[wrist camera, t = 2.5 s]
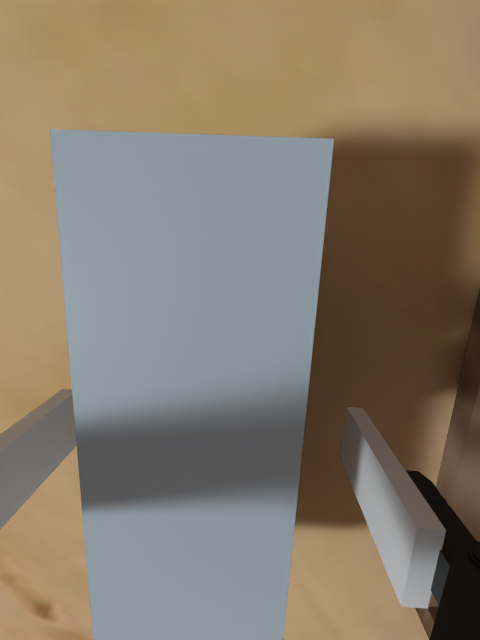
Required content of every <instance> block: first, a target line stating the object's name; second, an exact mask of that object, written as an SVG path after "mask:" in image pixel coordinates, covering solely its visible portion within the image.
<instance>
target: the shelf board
mask: <svg viewBox="0 0 480 640" xmlns="http://www.w3.org/2000/svg"><path fill="white" fill-rule="evenodd" d="M50 135H51V146H52V158H53V170H54V182H55V194H56V206H57V217H58V229H59V241H60V253H61V265H62V277H63V288H64V300H65V312H66V324H67V336H68V348H69V359H70V371H71V383H72V395H73V407H74V418H75V430H76V442H77V454H78V466H79V478H80V489H81V501H82V513H83V525H84V537H85V549H86V560H87V572H88V584H89V596H90V608H91V619H92V631H93V640H283V634H284V625H285V615H286V605H287V595H288V585H289V576H290V566H291V556H292V546H293V536H294V527H295V517H296V507H297V497H298V487H299V478H300V468H301V458H302V448H303V438H304V429H305V419H306V409H307V399H308V389H309V380H310V370H311V360H312V350H313V340H314V331H315V321H316V311H317V301H318V291H319V282H320V272H321V262H322V252H323V242H324V233H325V223H326V213H327V203H328V193H329V184H330V174H331V164H332V154H333V144H334V139H327V138H297V137H266V136H236V135H205V134H174V133H144V132H113V131H83V130H52V129H50Z"/></svg>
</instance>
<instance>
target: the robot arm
mask: <svg viewBox="0 0 480 640" xmlns="http://www.w3.org/2000/svg"><path fill="white" fill-rule="evenodd" d="M76 445H77V442H76V430H75V418H74V407H73V395H72V390H70V389H62V390H61V391H59V392H58V393H57V394H55V395H54V396H52V397H51V398H50V399H48V400H47V401H46V402H44V403H43V404H41V405H40V406H39V407H37V408H36V409H35V410H33V411H32V412H31V413H29V414H28V415H26V416H25V417H24V418H22V419H21V420H20V421H18V422H17V423H15V424H14V425H13V426H11V427H10V428H9V429H7V430H6V431H4V432H3V433H2V434H0V529H1V528H2V527H3V526H4V525H5V524H6V522H7V521H8V520H9V519H10V518H11V517H12V516H13V515H14V514H15V513H16V511H17V510H18V509H19V508H20V507H21V506H22V505H23V504H24V503H25V502H26V500H27V499H28V498H29V497H30V496H31V495H32V494H33V493H34V492H35V491H36V489H37V488H38V487H39V486H40V485H41V484H42V483H43V482H44V481H45V480H46V478H47V477H48V476H49V475H50V474H51V473H52V472H53V471H54V470H55V469H56V467H57V466H58V465H59V464H60V463H61V462H62V461H63V460H64V459H65V458H66V456H67V455H68V454H69V453H70V452H71V451H72V450H73V449H74V448H75V447H76ZM340 458H341V461H342V463H343V466H344V468H345V471H346V473H347V476H348V478H349V481H350V483H351V485H352V488H353V490H354V493H355V495H356V498H357V500H358V503H359V505H360V507H361V510H362V512H363V515H364V517H365V520H366V522H367V525H368V527H369V530H370V532H371V534H372V537H373V539H374V542H375V544H376V547H377V549H378V552H379V554H380V556H381V559H382V561H383V564H384V566H385V569H386V571H387V574H388V576H389V578H390V581H391V583H392V586H393V588H394V591H395V593H396V596H397V598H398V601H399V603H400V605H401V606H402V607H414V608H425V609H428V606H429V601H430V597H431V593H432V594H433V596H434V598H435V600H436V602H437V604H438V606H439V607H438V611H437V614H436V618H435V622H434V625H433V629H432V632H431V636H430V640H480V542H478V541H476V540H475V538H474V537H473V536H472V534H471V533H470V532H469V530H468V529H467V528H466V526H465V525H464V524H463V522H462V521H461V520H460V518H459V517H458V516H457V514H456V513H455V512H454V511H453V509H452V508H451V507H450V505H448V503H447V501H446V500H445V499H444V497H443V496H441V495H440V492H439V491H438V489H437V488H436V487H435V486H434V484H433V483H432V482H431V481H430V480H429V479H428V478H426V477H425V476H424V475H423V474H421V473H420V472H419V471H407V470H405V469H404V468H403V466H402V465H401V463H400V462H399V460H398V459H397V457H396V456H395V454H394V453H393V451H392V450H391V448H390V447H389V446H388V444H387V443H386V441H385V440H384V438H383V437H382V435H381V434H380V432H379V431H378V429H377V428H376V426H375V425H374V423H373V422H372V420H371V419H370V418H369V416H368V415H367V413H366V412H365V410H364V409H363V408H356V407H347V409H346V417H345V424H344V432H343V439H342V447H341V454H340Z"/></svg>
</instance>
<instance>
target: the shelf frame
mask: <svg viewBox="0 0 480 640" xmlns="http://www.w3.org/2000/svg"><path fill="white" fill-rule="evenodd" d="M436 488H437V489H438V491H439V492H440V495H441V496H443V497H444V499H445V500H446V501H447V503H448V505H450V507H451V508H452V509H453V511H454V512H455V513H456V514H457V516H458V517H459V518H460V520H461V521H462V522H463V524H464V525H465V526H466V528H467V529H468V530H469V532H470V533H471V534H472V536H473V537H474V538H475V540H476V541H478V542H480V290H479V295H478V299H477V304H476V308H475V313H474V318H473V322H472V327H471V331H470V336H469V340H468V345H467V349H466V354H465V359H464V363H463V368H462V372H461V377H460V381H459V386H458V390H457V395H456V400H455V404H454V409H453V413H452V418H451V422H450V427H449V431H448V436H447V440H446V445H445V450H444V454H443V459H442V463H441V468H440V472H439V477H438V481H437V486H436ZM438 607H439V606H438V604H437V602H436V600H435V598H434V596H433V594H432V593H431V597H430V601H429V606H428V609H425V608H415V609H416V611H417V613H418V615H419V618H420V620H421V622H422V624H423V626H424V629H425V631H426V633H427V635H428V638H429V640H430V636H431V632H432V629H433V625H434V622H435V618H436V614H437V611H438Z"/></svg>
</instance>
